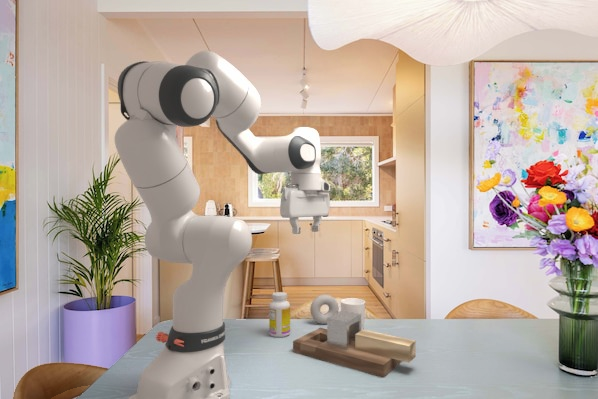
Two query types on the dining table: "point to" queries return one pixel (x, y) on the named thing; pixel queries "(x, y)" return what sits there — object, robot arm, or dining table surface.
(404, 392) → the dining table surface
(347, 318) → the tunnel
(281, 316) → the supplement bottle
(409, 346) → the gold bar
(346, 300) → the white cup
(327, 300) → the donut
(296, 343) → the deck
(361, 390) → the dining table surface
